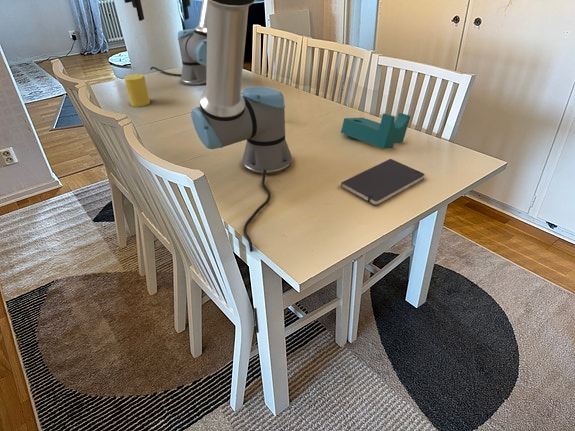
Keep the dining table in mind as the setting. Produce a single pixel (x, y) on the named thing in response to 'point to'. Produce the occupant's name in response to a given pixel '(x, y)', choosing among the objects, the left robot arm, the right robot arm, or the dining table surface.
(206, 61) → the left robot arm
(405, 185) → the notebook
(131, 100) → the can
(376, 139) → the teal l-shaped bracket
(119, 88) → the dining table surface
